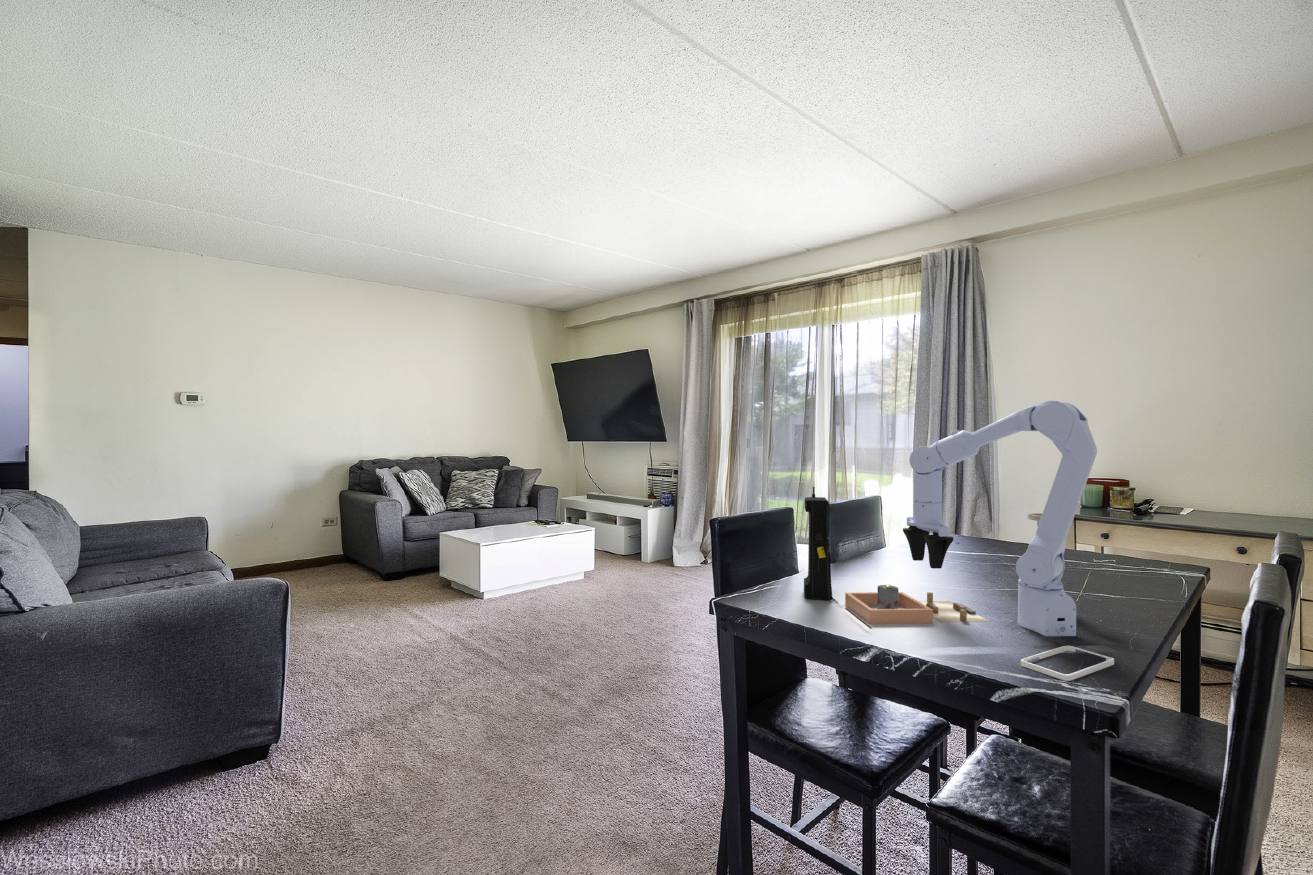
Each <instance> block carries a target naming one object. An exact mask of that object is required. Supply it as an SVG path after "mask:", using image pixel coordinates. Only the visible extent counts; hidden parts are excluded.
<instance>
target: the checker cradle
mask: <svg viewBox="0 0 1313 875" xmlns="http://www.w3.org/2000/svg"><path fill="white" fill-rule="evenodd" d="M918 601H919V600H918ZM919 602H920V603H922V604H924V605H926V606H927V607H929V608H931V609H933V620H936V621H938V622H940V623H979V622H980V623H982V622H983V623H984V622H985V623H988V622H990V620H988V619H986V618H984V617H983V616H980V615H978V614H976V610H974V609H972V608H970V607H968V606H966V605H964V604H962V603H959V602H953V601H951V600H935V601H934V593H933V592H927V593H926V600H922V601H921V600H920V601H919Z"/></svg>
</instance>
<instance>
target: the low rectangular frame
mask: <svg viewBox="0 0 1313 875" xmlns="http://www.w3.org/2000/svg"><path fill="white" fill-rule="evenodd" d="M844 593H845V596H844V597H845V598H844V605H845V608H844V609H845V610H846V611H847V612H849V613H850V614H851V615H852V616H853V617H855V618H856V619H857V620H859V622H861V623H863V625H865V626H866V627H868V628H869V629H872V627H871V626H870V625H869V624H933V623H934V618H933V609H931V608H929V607H927V606H926V605H924V604H922V603H920V602H919V600H917V599H915V598H914V597H911V596H910V595H908V594H906V593H905V592H903V591H898V606H901V607H903V608H898V609H877V608H871V607H870V606H877V591H876V592H872V591H871V592H844ZM846 606H847V607H848V608H849V609H848V608H847V607H846ZM851 610H852V611H853V612H852V611H851ZM855 613H856V614H857V615H858V616H857V615H856V614H855ZM859 616H860V617H859ZM861 618H862V619H861ZM863 620H864V621H863ZM865 621H866V622H867V623H866V622H865Z"/></svg>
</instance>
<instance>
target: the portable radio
mask: <svg viewBox="0 0 1313 875" xmlns="http://www.w3.org/2000/svg"><path fill="white" fill-rule="evenodd" d="M815 488H816V487H815V486H812V494H811V496H809V497H804V511H805V512H806V513H808V552H807V553H808V558H807V560H808V563H807V564H808V565H807V567H808V569H807V576H806V577H804V578H803V594H804V598H805V599H809V600H821V601H822V600H824V601H830V600H831V598H833V591H832V590H833V589H832V571H831V570H832V569H831V564H832V556H831V552H830V539H829V537H830V501H829V500H828V499H827V498H826V497H825V496H824V497H821V496H816V493H815Z"/></svg>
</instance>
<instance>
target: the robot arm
mask: <svg viewBox="0 0 1313 875" xmlns="http://www.w3.org/2000/svg"><path fill="white" fill-rule="evenodd" d="M1088 422H1089V421H1088V418H1087V417H1086V416H1085V415H1084V414H1083V413H1082V411H1081V410H1079V408H1078V407H1077V406H1075V405H1074V404H1071V403H1068V402H1062V401H1058V400H1047V401H1044V402H1041V403H1040V404H1038V405H1032V406H1029V407H1026V408H1023V409H1021V410H1018V411H1016V412H1012V413H1011V414H1009V415H1007V416H1004V417H1002V418H1001V419H999V420H996V421H994V422H993V423H990V424H988V425H986V426H983V427H982V428H980V429H978V430H975V431H973V432H971V431H968V430H965V429H962V430H959V429H954V430H952V431H951V432H950V435H949V436H947V437H944V438H942V439H940V440H932V441H930V442H929V444H930V445H929V446H925V445H922V446H921V445H920V446H918V447H917V448H916V449H913V451H912V452H911V453H910V456H909V465H910V467H911V468H912V470H913V480H912V481H913V484H912V486H913V490H912V491H913V492H912V493H913V494H912V495H913V496H912V501H913V502H912V503H913V504H912V510H913V511H912V516H906V526H907V527H903V528H902V532H903V533H904V535H905V538H906V539H907V542H908V545H909V550H910V553H911V558H912V560H913V562H914V561H921V562H922V561H924V558H925V553H926V552H925V551H926V547H927V553H928V562H929V566H930V567H929V568H931V569H942V567H943V564H944V560H945V557H946V554H947V552H948V550H949V548H950V546H951V544H952V543H953V542H954V536H952V535H951V526H947V525H946V524H945V523H943V521H942V520H943V517H942V516H943V515H942V514H943V470H945V468H947V467H950V466H952V465H955V464H957V463H960V462H962V461H965V460H968V459H969V458H973V457H975V456H976V455H978V453H979V451H980V448H981V447H982V446H985V445H988V444H991V443H993V442H995V441H998V440H1001V439H1003V438H1006V437H1009V436H1011V435H1015V434H1016V433H1020V432H1023V431H1024V432H1039V433H1040V434H1042V435H1044V437H1046V438H1048V439H1049V440H1051V442H1052V443H1053V444H1054V446H1056V448H1057V449H1058V451H1059V452H1060V454H1061V456H1062V457H1061V458H1060V459H1061V460H1060V462H1059V465H1058V468H1057V470H1056V474H1055V477H1054V480H1053V482H1052V486H1051V489H1050V491H1049V493H1048V497H1047V499H1046V503H1045V505H1044V509H1043V511H1042V513H1043V514H1042V516H1041V519H1040V522H1039V525H1038V526H1037V528H1036V531H1035V534H1034V535H1033V537H1032V539H1031V540H1030V542H1029V544H1028V546H1027V549H1026V551H1025V552H1024V553H1023V554H1022V555H1021V556H1020V557H1018V559H1017V560H1016V563H1015V572H1016V574H1017V576H1018V583H1017V584H1018V586H1017V624H1018V625H1019V626H1020V627H1022V628H1024V629H1028V630H1031V631H1033V632H1035V633H1038V634H1040V635H1042V636H1044V637H1077V605H1076V604H1077V603H1076V602H1075V600H1074V598H1073V597H1071V596H1070V595H1068V594H1067V592H1066V591H1065V589H1064V584H1063V583H1062V581H1061V580H1060V579H1059V578H1058V577H1059V576H1060V575H1061V574H1062V573H1063V574H1064V571H1065V570H1066V569H1065V567H1066V562H1065V557H1064V554H1065V551H1066V549H1067V548H1066V547H1067V546H1066V545H1067V543H1066V542H1067V537H1068V535H1069V531H1070V530H1071V526H1072V524H1073V521H1074V518H1075V515H1076V513H1077V510H1078V508H1079V507H1078V506H1079V504H1080V502H1081V498H1082V496H1083V493H1084V490H1085V487H1086V485H1087V483H1088V482H1087V481H1088V479H1089V477H1090V473H1091V472H1092V469H1093V466H1094V463H1095V459H1096V457H1097V453H1098V449H1097V446H1096V443H1095V440H1094V437H1093V435H1092V433H1091V429H1090V427H1089V423H1088ZM930 533H932V534H930Z"/></svg>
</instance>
